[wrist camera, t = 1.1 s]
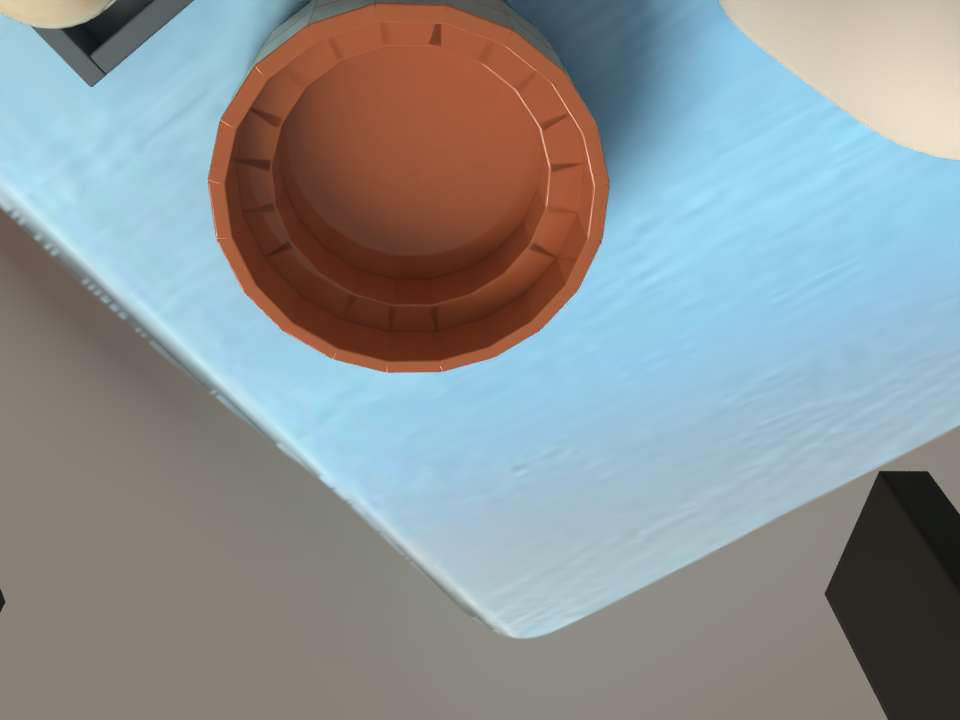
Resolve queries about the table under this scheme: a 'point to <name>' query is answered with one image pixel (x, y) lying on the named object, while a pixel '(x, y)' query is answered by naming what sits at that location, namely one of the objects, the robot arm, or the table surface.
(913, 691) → the robot arm
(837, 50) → the milk bottle
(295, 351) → the table surface
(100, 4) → the cream egg
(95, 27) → the egg tray
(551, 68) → the bowl
